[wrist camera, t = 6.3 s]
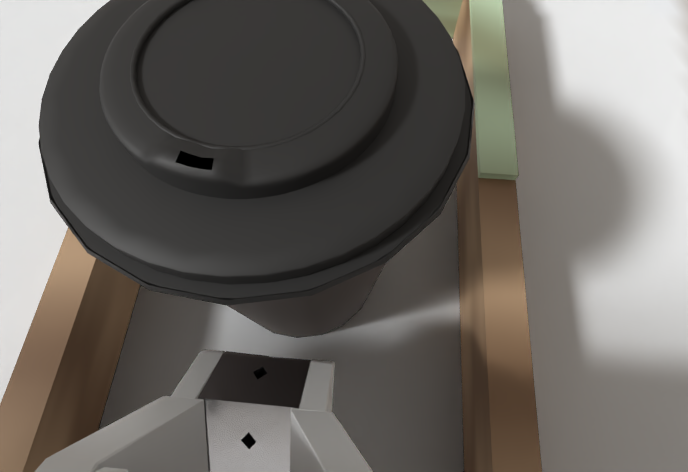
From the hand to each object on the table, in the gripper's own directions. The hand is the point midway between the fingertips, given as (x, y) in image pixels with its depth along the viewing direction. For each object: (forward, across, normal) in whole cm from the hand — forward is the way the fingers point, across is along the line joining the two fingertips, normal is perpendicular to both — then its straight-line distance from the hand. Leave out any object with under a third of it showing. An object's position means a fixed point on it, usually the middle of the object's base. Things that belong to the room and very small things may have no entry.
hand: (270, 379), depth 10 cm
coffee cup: (+7, 0, 0) cm, 7 cm away
